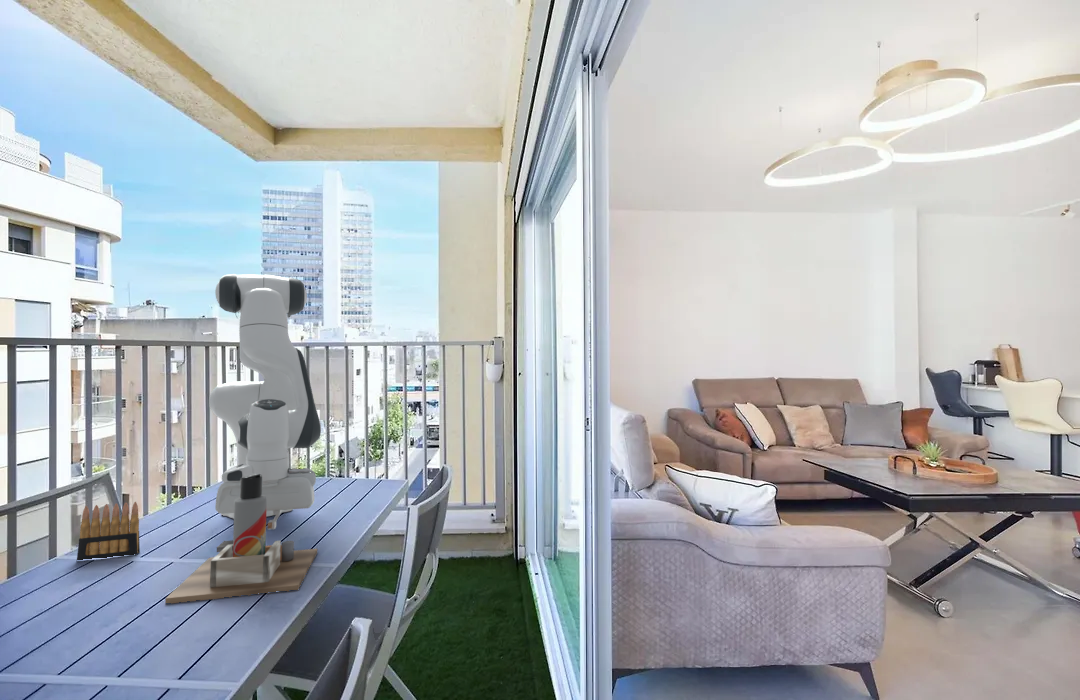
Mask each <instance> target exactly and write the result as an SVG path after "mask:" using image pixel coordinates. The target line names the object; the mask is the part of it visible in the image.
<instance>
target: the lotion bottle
mask: <svg viewBox="0 0 1080 700" xmlns="http://www.w3.org/2000/svg"><path fill="white" fill-rule="evenodd" d="M266 509H267V498H266V496H262V475H260V474H254V475H249V476H246V477H243V478H241V484H240V498H238V499H236V500H235V504H234V518H233V534H232V535H233V539H232V540H233V557H242V556H253V555H265V546H266V539H267V538H266V537H267V535H266V534H267V517H266Z"/></svg>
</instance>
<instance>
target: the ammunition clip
mask: <svg viewBox="0 0 1080 700" xmlns="http://www.w3.org/2000/svg"><path fill="white" fill-rule="evenodd" d="M83 508H84V509H83V511H82V516H81V524H80V529H79V530H80V531H79V538H78V546H77V554H76V555H77V556H76V561H77V560H83V559H92V558H107V557H113V556H124V555H134V554H137V553H138V554H140V549H141V548H140V530H139V529H140V519H139V506H138V503H137V501H134V502H133V505H132V507H131V513H130V511H129V510H130V509H129V505H128V503H127V502H124V504H123V507H122V511H121V517H120V508H119V505H118V503H115V504H114V506H113V509H112V512H111V513H112V516H111V518H110V515H111V514H110V508H109V505H108V504H107V503H106V504H105V505H104V508H103V510H102V517H101V515H100V514H101V513H100V508H99V506H98V505H97V504H95V506H94V508H93V511H92V515H91V516H92V517H91V521H90V510H89V507H88V505H85V506H84V507H83ZM130 514H131V515H130ZM100 518H101V519H100ZM120 518H121V520H120ZM110 519H111V520H110ZM138 554H137V555H138Z"/></svg>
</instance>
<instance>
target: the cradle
mask: <svg viewBox="0 0 1080 700" xmlns="http://www.w3.org/2000/svg"><path fill="white" fill-rule="evenodd" d="M271 545H272V546H271V547H270V549H269V550H268V551H267V552H266V554H265V555H253V556H242V557H233V539H230V540H223V541H222V542H221V543H220V544H219V545H218V546H217V547H216V553H218V554H216V555H215V556H214V557H213V556H212V557H208V558H207V559H206V560H205V561H204V562H203V563H202V564H201V565H200V566H199V567H198V568H197V569H195V571H194V572H193V571H192V573H191V574H190V575H188V577H187V578H186V579H185V580H183V581H182V583H180V584H179V585H178V586H177V587H175V588H174V590H173V591H172V592H170V594H169V595H168V596H166V597H165V602H164V604H165V603H171V604H179V602H181V603H188V602H187V601H190V602H197V601H196V600H200V601H207V600H208V601H209V599H210V600H217V599H225V598H224V597H229V598H233V597H232V596H239V597H242V596H241V595H248V596H252V595H251V594H258V593H259V594H258V595H261V594H260V593H268V592H276V591H287V592H290V591H289V590H297V591H299V590H300V588H301V586H302V584H303V582H304V580H305V578H306V576H307V574H308V572H309V570H310V568H311V566H312V564H313V562H314V560H315V559H316V556H317V554H318V548H308V549H296V550H295V549H294V558H293V559H292V560H289V561H282V560H281V561H280V547H281V545H282V541H281V540H274V542H273V544H271ZM311 563H312V564H311ZM310 565H311V566H310ZM309 567H310V568H309ZM308 569H309V570H308ZM307 571H308V572H307ZM306 573H307V574H306ZM305 575H306V576H305ZM304 577H305V578H304ZM303 579H304V580H303ZM302 581H303V582H302ZM301 583H302V584H301ZM300 585H301V586H300ZM299 587H300V588H299ZM298 589H299V590H298ZM268 594H269V593H268Z"/></svg>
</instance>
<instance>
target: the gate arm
mask: <svg viewBox="0 0 1080 700" xmlns="http://www.w3.org/2000/svg"><path fill="white" fill-rule="evenodd" d="M272 545H273V544H271V545H265V554H266V552H267V551H268V550H269V549H270V547H271V546H272ZM294 551H295V541H294V540H285V541H283V542H281V547H280V561H281V560H282V561H289V560H292V559H293V558H294Z"/></svg>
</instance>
